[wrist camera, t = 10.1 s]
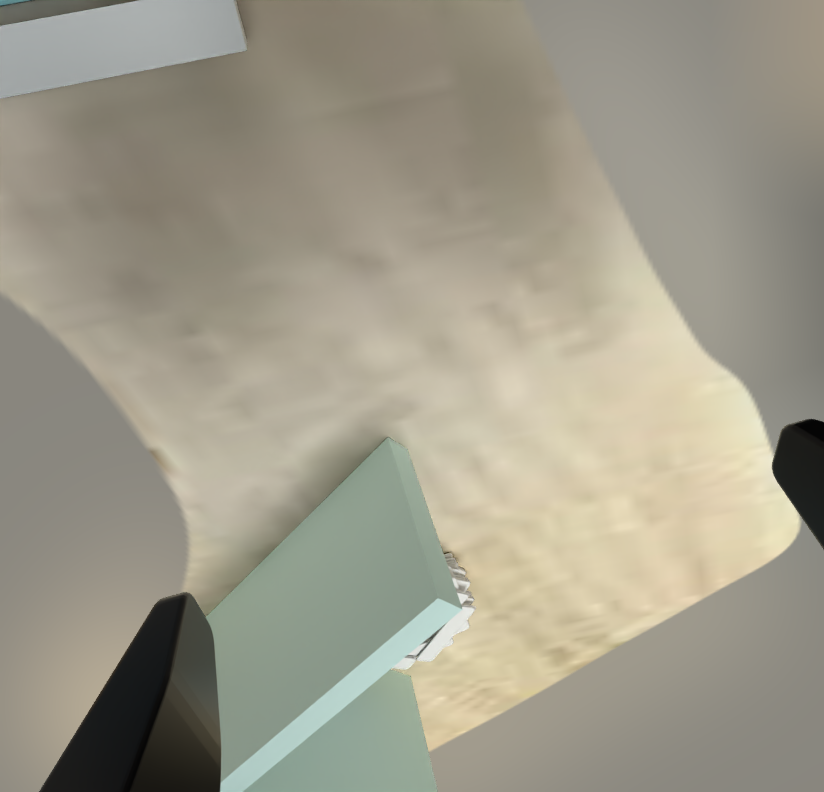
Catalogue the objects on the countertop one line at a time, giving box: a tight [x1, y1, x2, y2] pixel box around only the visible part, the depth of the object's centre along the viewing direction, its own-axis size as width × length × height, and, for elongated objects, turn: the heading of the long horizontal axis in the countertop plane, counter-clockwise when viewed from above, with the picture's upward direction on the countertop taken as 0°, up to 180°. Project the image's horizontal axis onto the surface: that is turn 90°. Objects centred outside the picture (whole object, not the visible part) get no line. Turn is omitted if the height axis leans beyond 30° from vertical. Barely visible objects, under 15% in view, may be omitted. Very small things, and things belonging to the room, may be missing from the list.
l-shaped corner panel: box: [206, 437, 476, 792], centre depth 25 cm, size 12×12×8 cm
